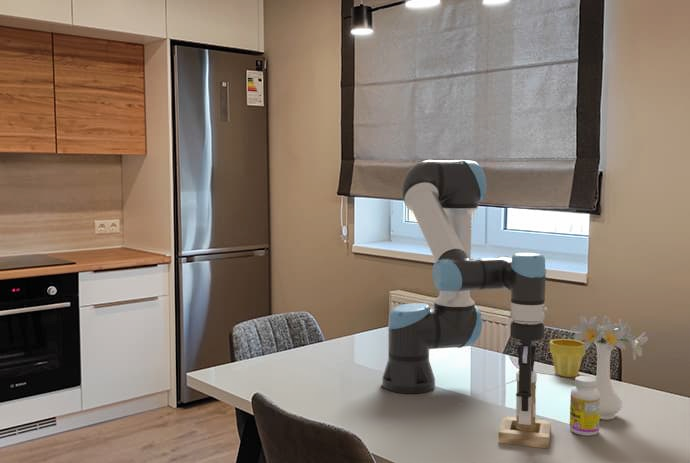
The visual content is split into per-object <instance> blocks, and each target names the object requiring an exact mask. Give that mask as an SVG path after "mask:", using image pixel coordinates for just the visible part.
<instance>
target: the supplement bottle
mask: <svg viewBox="0 0 690 463" xmlns="http://www.w3.org/2000/svg"><path fill="white" fill-rule="evenodd" d="M574 378H575V379H574V382H575V386H574V387H573V388H572V389H571V390H570V403H569V404H570V405H569V430H570V431H571V432H573V434H576V435H580V436H585V437H586V436H587V437H588V436H589V437H591V436H595V435H598V433H599V432H600V419H599V416H600V393H599V391H598V390H597V389H595V386H596V377H593V376H589V375H577V376H575V377H574Z"/></svg>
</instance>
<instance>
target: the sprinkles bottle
mask: <svg viewBox="0 0 690 463" xmlns="http://www.w3.org/2000/svg"><path fill="white" fill-rule="evenodd" d="M515 375H516V378H515V380H516V393H518V392H519V370H518V371H516V374H515ZM537 377H538V376H537V372H535V371H534V370H533V371H531V425H526V424H519V396H516V395H515V396H516V397H515V398H516V399H515V400H516V405H515V406H516V407H515V408H516V409H515V411H516V412H515V415H516V416H515V417H516V419H517V420H516V428H517V429H518V430H520V431H526V432H532V431H534V430H535V429H536V427H535V420H536V415H537V413H536V410H537V408H536V406H537V403H536V399H537V398H536V393H537V392H536V389H537V385H536V384H537V379H538V378H537Z"/></svg>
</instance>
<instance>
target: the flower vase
mask: <svg viewBox="0 0 690 463" xmlns="http://www.w3.org/2000/svg"><path fill="white" fill-rule="evenodd" d="M597 320H598V317H597V316H593V317H591V318H590V319H589V321H588V318H587V317H586V316H585V315H580V317H579V325H573V326H571V327H570V328H569V330H570V331H571V332H574V333H575V332H578V333H576V334H575V335H574V336H573V340H576V341H581V342H583V341H584V342H583V348H584V349H585V351H587V350H588V349H589V348H590V346H591V344H592V342H594V344H595V348H596V355H597V358H596V359H597V363H596V375H595V379H596V386H595V389H597V390H598V391H599V393H600V416H599V420H604V421H608V420H609V421H610V420H613V419H615V417H616V415H617V414H618V413H619V412H620V411H622V408H623V401H622V399H621V397H620V396H619V395H618V393H617V392H616V391H615V390H614V388H613V385H612V382H611V364H610V363H611V353H612V351H613V350H614V349H615V346H616V347H617V348H618V349H620V350H627V347H626V345H625V343H624V342H627V343H629V344H630V346H631V348H632V356H633V361H636V358H637V356H639V357H642V356H643V348H642V346H643V345H645V343H646V342H647V341H648V339H649V336H646V331H644V332H643V333H642V334H640V335H639V336H638V337H637V338H636V337H635V335H633V334H630V332H631V326H630V324H629V323H628V322H626V323H625V324H624V322H623V320H622V319H621V318H619V323H615V324H613V323H612V320H611V318H610V317H609V316H607V315H605V316H604V317H603V325H601V324H599V321H597Z"/></svg>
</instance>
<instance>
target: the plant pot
mask: <svg viewBox="0 0 690 463" xmlns="http://www.w3.org/2000/svg"><path fill="white" fill-rule="evenodd" d="M583 343H584V342H583V341H576V340H574V339H569V338H556V339H551V340H550V341H549V352H550V353H551V355H552V356H551V357H552V361H553V366H554V373H555V375H558V376H560V377H566V378H576V377H578V376H579V372H580V368H581V364H582V360H583V357H584V356H585V355H586V350H585V349H584V348H583Z"/></svg>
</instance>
